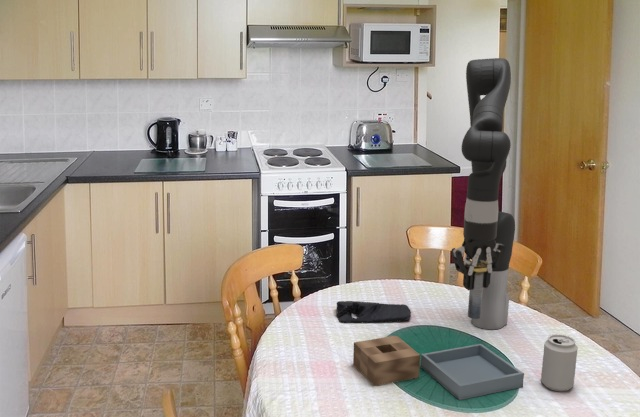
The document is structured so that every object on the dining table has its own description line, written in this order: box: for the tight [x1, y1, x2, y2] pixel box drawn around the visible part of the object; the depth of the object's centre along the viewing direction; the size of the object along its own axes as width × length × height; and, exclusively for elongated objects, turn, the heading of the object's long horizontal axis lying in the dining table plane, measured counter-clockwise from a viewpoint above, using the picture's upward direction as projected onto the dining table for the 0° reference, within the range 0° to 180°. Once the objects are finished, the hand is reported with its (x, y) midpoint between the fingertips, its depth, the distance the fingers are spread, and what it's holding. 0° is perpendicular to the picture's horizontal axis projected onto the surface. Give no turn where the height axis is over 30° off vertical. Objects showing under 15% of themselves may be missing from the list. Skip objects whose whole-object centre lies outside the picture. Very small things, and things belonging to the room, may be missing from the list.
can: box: [540, 333, 579, 392], centre depth 172 cm, size 8×8×12 cm
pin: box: [467, 263, 487, 319], centre depth 172 cm, size 4×4×13 cm
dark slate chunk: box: [336, 300, 412, 324], centre depth 214 cm, size 15×22×5 cm
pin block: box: [352, 335, 421, 387], centre depth 179 cm, size 12×12×6 cm
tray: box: [420, 343, 525, 401], centre depth 177 cm, size 18×18×4 cm
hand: (476, 287), depth 172 cm, fingers closed on pin, 4 cm apart
